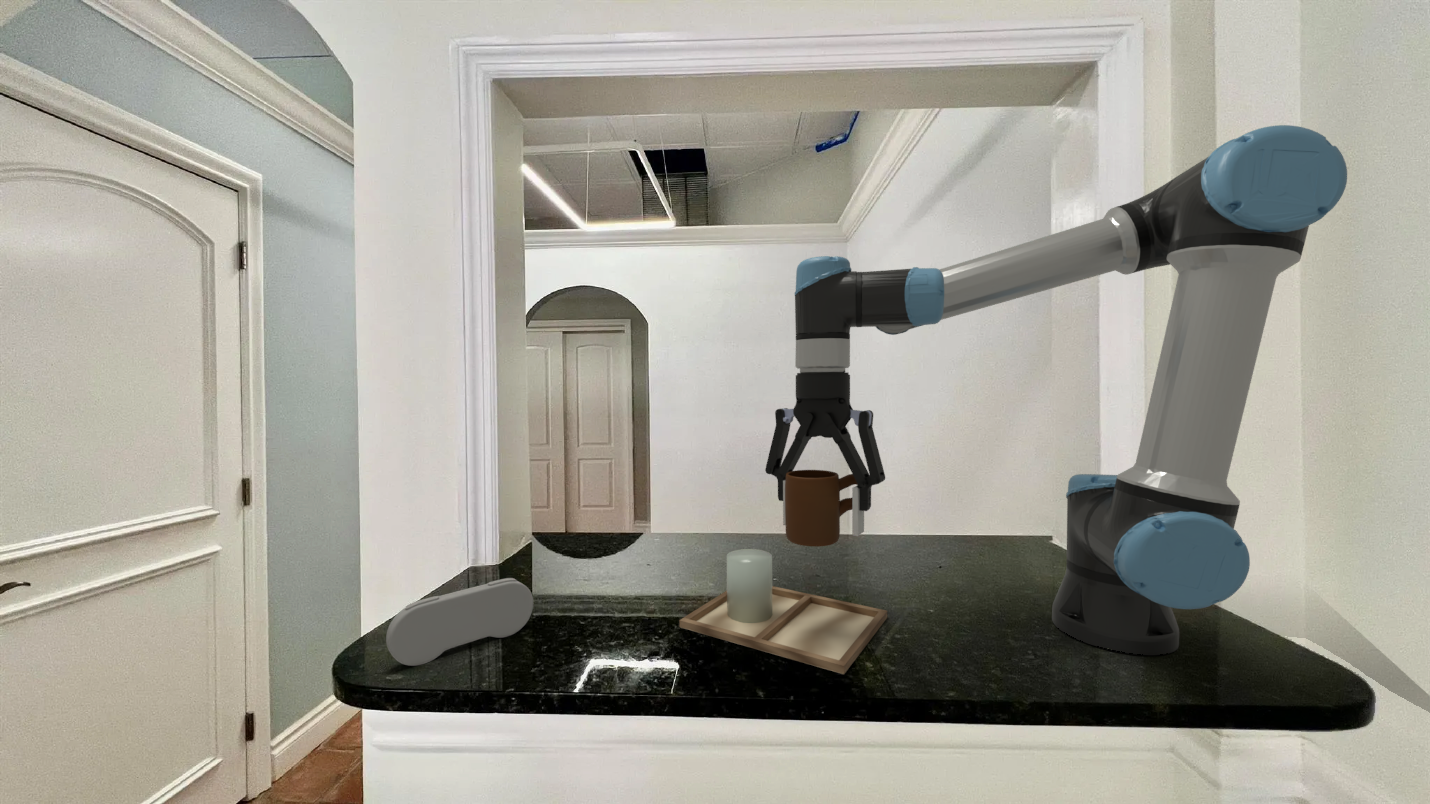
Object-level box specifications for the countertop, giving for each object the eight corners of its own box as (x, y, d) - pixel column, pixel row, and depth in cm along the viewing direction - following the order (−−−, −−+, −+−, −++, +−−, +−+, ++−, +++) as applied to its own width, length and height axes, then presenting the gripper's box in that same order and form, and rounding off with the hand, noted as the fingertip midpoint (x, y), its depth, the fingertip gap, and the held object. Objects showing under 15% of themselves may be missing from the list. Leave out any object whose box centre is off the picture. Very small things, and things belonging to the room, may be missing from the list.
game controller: (528, 623, 87) (526, 570, 87) (534, 628, 85) (533, 574, 85) (386, 669, 74) (383, 607, 73) (390, 675, 72) (388, 612, 72)
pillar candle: (780, 610, 88) (779, 553, 87) (759, 627, 82) (758, 566, 82) (741, 600, 92) (740, 546, 91) (718, 616, 86) (718, 558, 85)
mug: (859, 530, 84) (859, 467, 83) (879, 545, 76) (878, 476, 76) (780, 533, 83) (779, 470, 82) (792, 549, 75) (791, 479, 75)
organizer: (887, 625, 85) (887, 610, 85) (844, 683, 69) (844, 666, 69) (743, 592, 98) (743, 579, 98) (679, 634, 82) (679, 620, 82)
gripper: (910, 369, 76) (909, 533, 77) (764, 371, 88) (765, 513, 89) (895, 369, 69) (895, 547, 70) (740, 371, 82) (741, 523, 83)
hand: (822, 528), depth 80 cm, fingers closed on mug, 10 cm apart
